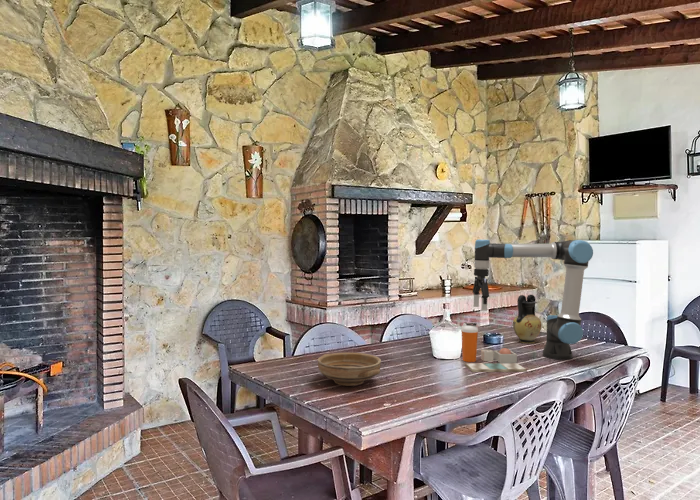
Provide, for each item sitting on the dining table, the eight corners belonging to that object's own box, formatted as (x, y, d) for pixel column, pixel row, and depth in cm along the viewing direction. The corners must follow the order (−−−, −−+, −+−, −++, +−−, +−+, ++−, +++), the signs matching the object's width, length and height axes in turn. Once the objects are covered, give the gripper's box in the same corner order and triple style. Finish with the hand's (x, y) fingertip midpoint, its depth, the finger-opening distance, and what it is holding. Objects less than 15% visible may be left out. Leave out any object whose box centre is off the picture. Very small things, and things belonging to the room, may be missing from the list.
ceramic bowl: (401, 385, 218) (401, 363, 218) (350, 398, 200) (350, 373, 200) (348, 368, 247) (348, 348, 247) (299, 377, 229) (300, 356, 229)
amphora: (521, 338, 327) (522, 292, 327) (546, 342, 315) (547, 295, 314) (507, 341, 315) (508, 294, 315) (532, 346, 303) (533, 296, 302)
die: (490, 358, 270) (490, 349, 269) (493, 361, 265) (493, 351, 264) (481, 358, 269) (481, 349, 269) (484, 361, 264) (484, 351, 264)
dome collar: (510, 358, 270) (510, 350, 270) (516, 362, 261) (517, 354, 261) (493, 358, 270) (493, 350, 270) (499, 363, 261) (499, 354, 260)
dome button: (508, 358, 269) (508, 346, 269) (513, 361, 262) (513, 349, 262) (497, 358, 268) (497, 346, 268) (501, 361, 262) (501, 349, 262)
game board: (517, 365, 256) (517, 363, 256) (526, 371, 244) (526, 369, 244) (465, 365, 254) (465, 363, 254) (472, 372, 242) (472, 369, 242)
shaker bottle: (478, 363, 260) (478, 324, 260) (460, 362, 262) (461, 324, 261) (477, 359, 269) (478, 322, 268) (460, 358, 271) (461, 321, 270)
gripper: (467, 267, 277) (466, 305, 277) (482, 269, 252) (480, 311, 252) (480, 267, 277) (479, 305, 278) (496, 270, 252) (495, 312, 253)
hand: (480, 308), depth 265 cm, fingers open, 13 cm apart
